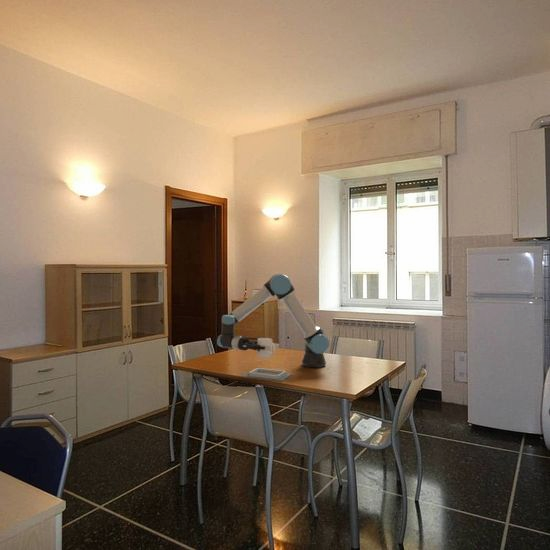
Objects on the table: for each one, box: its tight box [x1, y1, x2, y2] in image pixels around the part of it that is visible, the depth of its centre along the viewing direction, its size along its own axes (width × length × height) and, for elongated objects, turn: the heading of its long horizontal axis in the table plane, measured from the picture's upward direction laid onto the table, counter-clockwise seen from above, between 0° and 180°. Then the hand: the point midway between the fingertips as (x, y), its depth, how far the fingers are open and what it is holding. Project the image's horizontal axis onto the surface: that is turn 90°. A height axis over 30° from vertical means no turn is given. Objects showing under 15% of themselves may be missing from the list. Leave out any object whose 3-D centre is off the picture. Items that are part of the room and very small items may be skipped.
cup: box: [256, 337, 276, 359], centre depth 250 cm, size 8×12×10 cm
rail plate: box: [240, 367, 293, 383], centre depth 250 cm, size 24×18×2 cm
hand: (274, 347), depth 248 cm, fingers closed on cup, 8 cm apart
